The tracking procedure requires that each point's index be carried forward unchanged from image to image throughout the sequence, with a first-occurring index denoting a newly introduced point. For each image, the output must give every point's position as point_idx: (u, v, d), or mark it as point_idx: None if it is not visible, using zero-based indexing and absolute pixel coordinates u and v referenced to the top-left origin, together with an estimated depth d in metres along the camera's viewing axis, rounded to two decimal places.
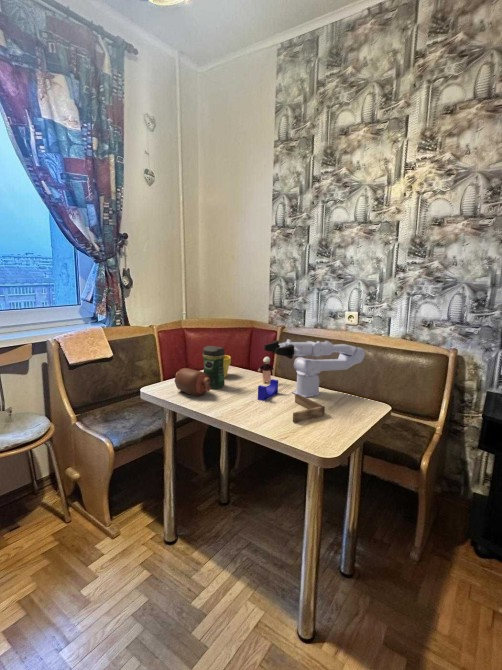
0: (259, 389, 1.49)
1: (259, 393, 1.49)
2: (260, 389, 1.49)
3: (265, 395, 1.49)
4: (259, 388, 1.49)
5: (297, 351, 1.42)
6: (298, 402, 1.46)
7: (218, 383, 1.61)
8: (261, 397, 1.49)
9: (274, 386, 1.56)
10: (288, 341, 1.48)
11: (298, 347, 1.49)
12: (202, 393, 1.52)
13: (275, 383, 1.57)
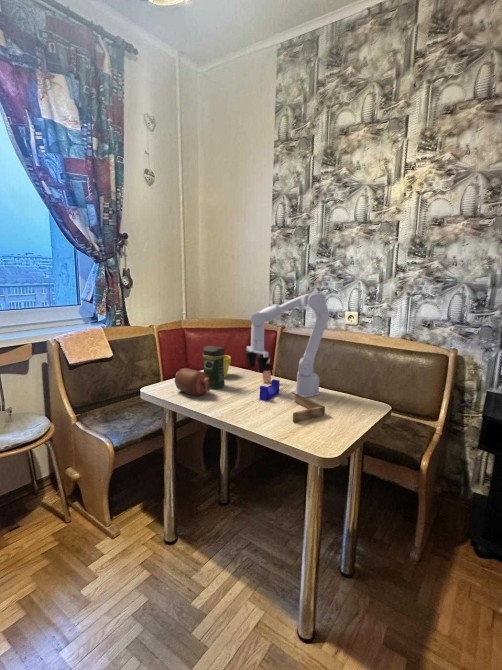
0: (261, 389, 1.49)
1: (261, 393, 1.49)
2: (262, 389, 1.48)
3: (267, 395, 1.49)
4: (261, 388, 1.49)
5: (265, 355, 1.52)
6: (298, 402, 1.46)
7: (218, 383, 1.61)
8: (263, 397, 1.49)
9: (275, 386, 1.56)
10: (251, 351, 1.56)
11: (258, 343, 1.55)
12: (202, 393, 1.52)
13: (276, 383, 1.56)
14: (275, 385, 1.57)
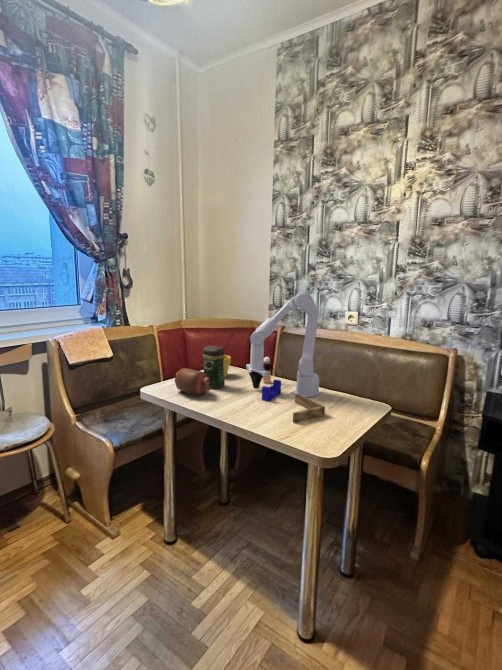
0: (263, 390, 1.48)
1: (263, 394, 1.49)
2: (264, 390, 1.48)
3: (269, 396, 1.48)
4: (263, 389, 1.48)
5: (264, 375, 1.53)
6: (298, 402, 1.46)
7: (218, 383, 1.61)
8: (265, 398, 1.48)
9: (277, 386, 1.56)
10: None
11: (257, 362, 1.56)
12: (202, 393, 1.52)
13: (278, 383, 1.56)
14: (277, 385, 1.56)
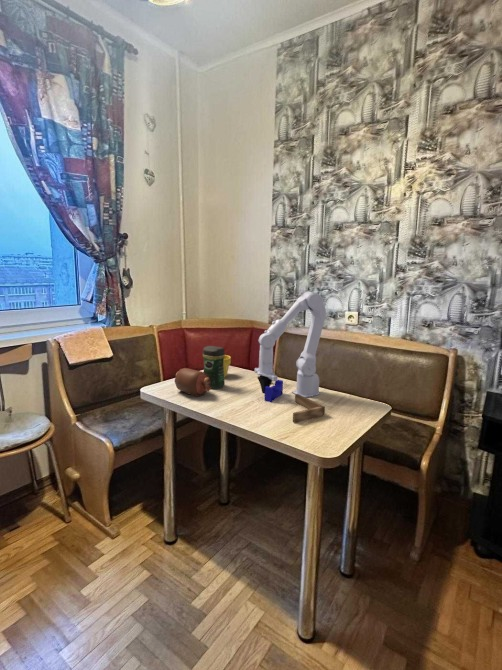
0: (266, 390, 1.48)
1: (266, 394, 1.48)
2: (267, 390, 1.48)
3: (272, 396, 1.48)
4: (266, 389, 1.48)
5: (274, 379, 1.48)
6: (298, 402, 1.46)
7: (218, 383, 1.61)
8: (268, 398, 1.48)
9: (279, 386, 1.56)
10: None
11: (266, 366, 1.51)
12: (202, 393, 1.52)
13: (280, 383, 1.56)
14: (279, 385, 1.56)
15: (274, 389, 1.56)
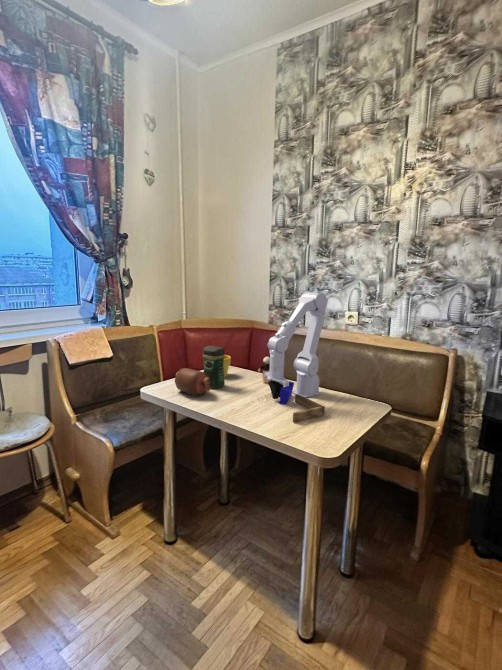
0: (282, 392, 1.44)
1: (282, 396, 1.45)
2: (284, 392, 1.44)
3: (287, 399, 1.45)
4: (283, 391, 1.44)
5: (285, 384, 1.41)
6: (298, 402, 1.46)
7: (218, 383, 1.61)
8: (283, 401, 1.45)
9: (290, 388, 1.53)
10: None
11: (277, 371, 1.44)
12: (202, 393, 1.52)
13: (292, 385, 1.54)
14: (290, 387, 1.54)
15: None
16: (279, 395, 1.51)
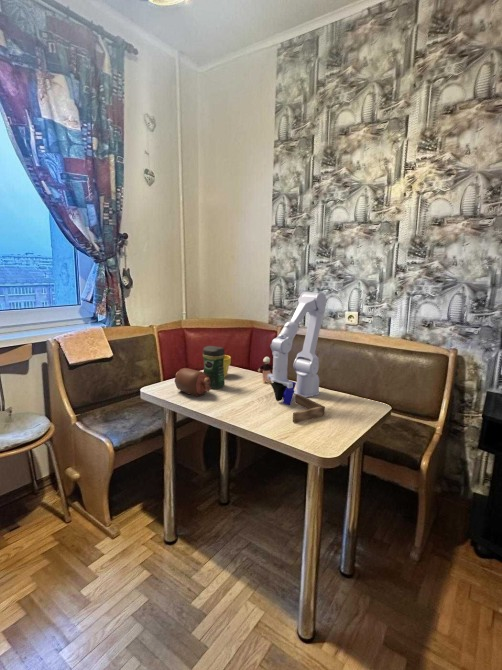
0: (287, 392, 1.44)
1: (286, 396, 1.44)
2: (288, 393, 1.44)
3: (291, 399, 1.45)
4: (287, 391, 1.44)
5: (289, 386, 1.39)
6: (298, 402, 1.46)
7: (218, 383, 1.61)
8: (287, 401, 1.45)
9: (292, 388, 1.54)
10: None
11: (281, 372, 1.42)
12: (202, 393, 1.52)
13: (293, 385, 1.54)
14: None
15: None
16: None
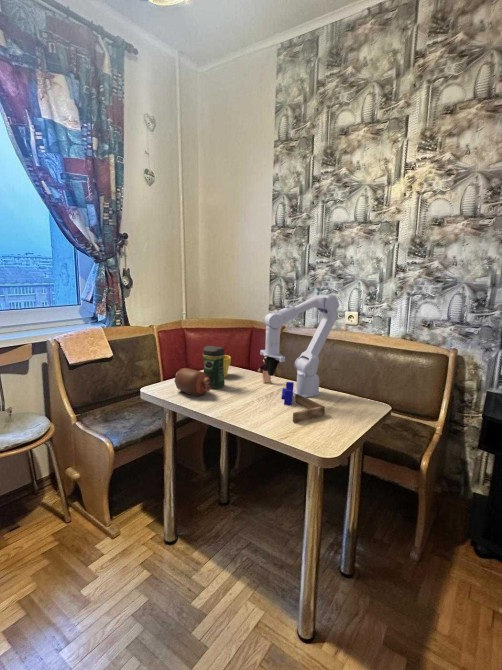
0: (286, 394, 1.44)
1: (286, 398, 1.45)
2: (287, 393, 1.44)
3: None
4: (286, 393, 1.44)
5: (281, 360, 1.43)
6: (298, 402, 1.46)
7: (218, 383, 1.61)
8: (288, 402, 1.45)
9: (291, 388, 1.54)
10: None
11: (273, 347, 1.46)
12: (202, 393, 1.52)
13: (292, 385, 1.54)
14: (291, 387, 1.54)
15: None
16: (282, 397, 1.51)
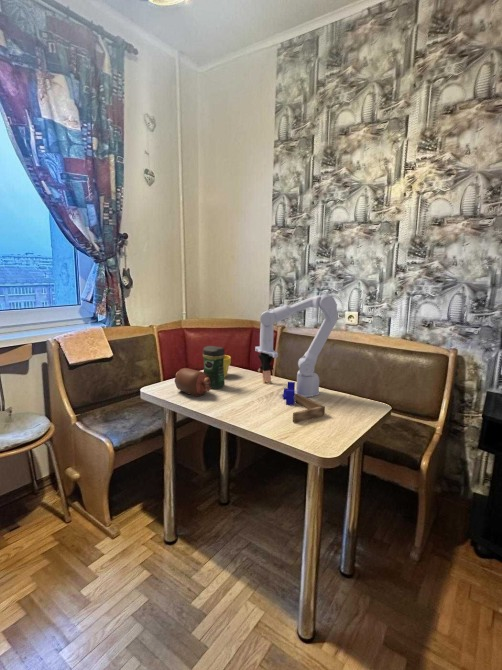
0: (288, 393, 1.44)
1: (288, 398, 1.45)
2: (289, 393, 1.44)
3: (293, 399, 1.45)
4: (288, 392, 1.44)
5: (274, 356, 1.50)
6: (298, 402, 1.46)
7: (218, 383, 1.61)
8: (290, 402, 1.45)
9: (293, 388, 1.54)
10: None
11: (267, 344, 1.52)
12: (202, 393, 1.52)
13: (293, 385, 1.54)
14: (292, 387, 1.54)
15: None
16: (283, 397, 1.51)
